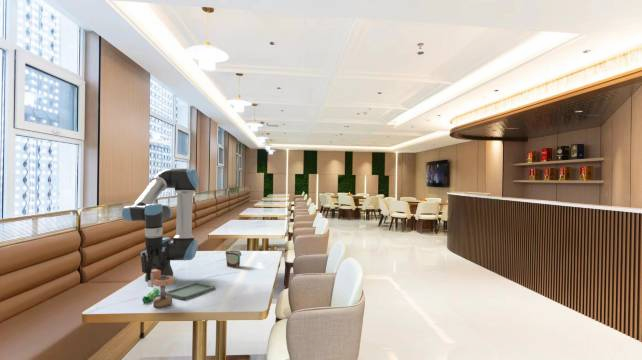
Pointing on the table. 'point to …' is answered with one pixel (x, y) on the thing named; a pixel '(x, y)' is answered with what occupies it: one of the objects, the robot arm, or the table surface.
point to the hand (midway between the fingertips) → (154, 285)
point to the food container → (233, 258)
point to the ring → (158, 282)
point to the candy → (151, 295)
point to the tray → (189, 291)
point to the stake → (162, 297)
